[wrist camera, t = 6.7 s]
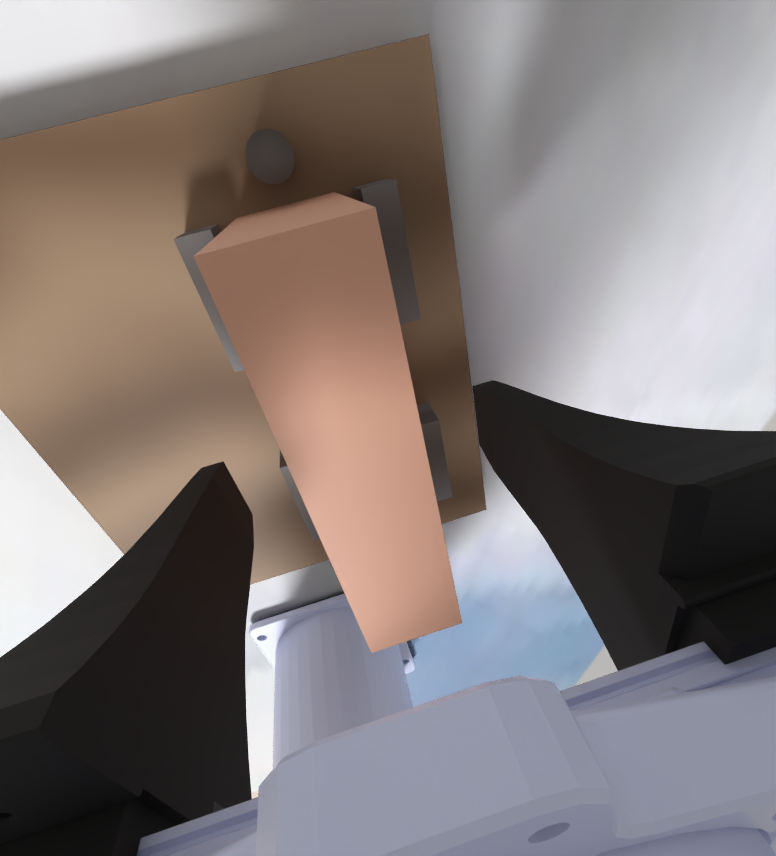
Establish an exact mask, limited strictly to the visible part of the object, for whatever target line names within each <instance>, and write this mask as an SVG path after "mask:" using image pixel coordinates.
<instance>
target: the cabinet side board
mask: <svg viewBox="0 0 776 856" xmlns="http://www.w3.org/2000/svg"><path fill="white" fill-rule="evenodd" d="M332 192H336V193H338V194H341V195H344V196H346V197H349V198H352V199H355V200H357V201H360V202H363V203H366V204H368V205H371V206H374V207H376V212H377V217H378V221H379V226H380V231H381V236H382V241H383V245H384V250H385V255H386V260H387V265H388V269H389V274H390V279H391V284H392V289H393V293H394V298H395V303H396V308H397V313H398V317H399V322H400V327H401V332H402V337H403V341H404V346H405V351H406V356H407V361H408V365H409V370H410V375H411V380H412V385H413V389H414V394H415V399H416V404H417V409H418V413H419V418H420V423H421V428H422V433H423V437H424V442H425V447H426V452H427V457H428V461H429V466H430V471H431V476H432V481H433V485H434V490H435V495H436V500H437V505H438V509H439V514H440V519H441V524H442V523H445V522H449V521H452V520H455V519H458V518H461V517H464V516H467V515H471V514H474V513H477V512H480V511H483V510H486V503H485V494H484V486H483V478H482V470H481V461H480V453H479V445H478V437H477V428H476V420H475V412H474V404H473V395H472V387H471V379H470V370H469V362H468V354H467V346H466V337H465V329H464V321H463V313H462V304H461V296H460V288H459V279H458V271H457V263H456V255H455V246H454V238H453V230H452V222H451V213H450V205H449V197H448V189H447V180H446V172H445V164H444V155H443V147H442V139H441V131H440V122H439V114H438V106H437V98H436V89H435V81H434V73H433V65H432V56H431V48H430V40H429V34H428V35H424V36H420V37H416V38H412V39H408V40H404V41H400V42H395V43H391V44H387V45H383V46H379V47H375V48H371V49H367V50H363V51H359V52H355V53H351V54H347V55H343V56H339V57H335V58H331V59H327V60H322V61H318V62H314V63H310V64H306V65H302V66H298V67H294V68H290V69H286V70H282V71H278V72H274V73H270V74H266V75H262V76H258V77H254V78H250V79H245V80H241V81H237V82H233V83H229V84H225V85H221V86H217V87H213V88H209V89H205V90H201V91H197V92H193V93H189V94H185V95H181V96H177V97H173V98H168V99H164V100H160V101H156V102H152V103H148V104H144V105H140V106H136V107H132V108H128V109H124V110H120V111H116V112H112V113H108V114H104V115H100V116H96V117H91V118H87V119H83V120H79V121H75V122H71V123H67V124H63V125H59V126H55V127H51V128H47V129H43V130H39V131H35V132H31V133H27V134H23V135H18V136H14V137H10V138H6V139H2V140H0V409H1V410H2V412H3V413H4V414H5V415H6V416H7V417H8V419H9V420H10V421H11V422H12V423H13V424H14V426H15V427H16V428H17V429H18V430H19V431H20V433H21V434H22V435H23V436H24V437H25V439H26V440H27V441H28V442H29V443H30V444H31V446H32V447H33V448H34V449H35V450H36V451H37V453H38V454H39V455H40V456H41V457H42V458H43V460H44V461H45V462H46V463H47V464H48V466H49V467H50V468H51V469H52V470H53V471H54V473H55V474H56V475H57V476H58V477H59V478H60V480H61V481H62V482H63V483H64V484H65V485H66V487H67V488H68V489H69V490H70V491H71V493H72V494H73V495H74V496H75V497H76V498H77V500H78V501H79V502H80V503H81V504H82V505H83V507H84V508H85V509H86V510H87V511H88V512H89V514H90V515H91V516H92V517H93V518H94V520H95V521H96V522H97V523H98V524H99V525H100V527H101V528H102V529H103V530H104V531H105V532H106V534H107V535H108V536H109V537H110V538H111V539H112V541H113V542H114V543H115V544H116V545H117V547H118V548H119V549H120V550H121V551H122V552H123V554H125V553H126V552H127V551H128V550H129V549H130V548H131V547H132V546H133V545H134V544H135V543H136V542H137V541H138V540H139V538H140V537H141V536H142V535H143V534H144V533H145V532H146V531H147V530H148V529H149V527H150V526H151V525H152V524H153V523H154V522H155V521H156V520H157V519H158V517H159V516H160V515H161V514H162V513H163V512H164V510H165V509H166V508H167V507H168V506H169V504H170V503H171V502H172V501H173V500H174V499H175V497H176V496H177V495H178V494H179V493H180V491H181V490H182V489H183V488H184V487H185V485H186V484H187V483H188V482H189V481H190V479H191V478H192V477H193V476H194V475H195V474H196V473H197V472H198V471H199V470H200V469H201V468H202V467H206V466H209V465H212V464H216V463H219V462H222V461H224V463H225V465H226V467H227V469H228V470H229V472H230V474H231V476H232V478H233V479H234V481H235V483H236V485H237V487H238V489H239V490H240V492H241V494H242V496H243V498H244V499H245V501H246V503H247V505H248V507H249V509H250V510H251V512H252V514H253V529H254V552H253V562H252V572H251V581H250V584H254V583H257V582H260V581H263V580H266V579H269V578H272V577H276V576H279V575H282V574H285V573H288V572H291V571H294V570H298V569H301V568H304V567H307V566H310V565H313V564H316V563H320V562H323V561H326V560H329V557H328V555H327V553H326V551H325V548H324V546H323V544H322V542H321V539H320V537H319V535H318V533H317V531H316V528H315V526H314V524H313V522H312V519H311V517H310V515H309V513H308V510H307V508H306V506H305V504H304V502H303V499H302V497H301V495H300V493H299V490H298V488H297V486H296V484H295V481H294V479H293V477H292V475H291V473H290V470H289V468H288V466H287V464H286V461H285V459H284V457H283V455H282V452H281V450H280V448H279V446H278V444H277V441H276V439H275V437H274V435H273V432H272V430H271V428H270V426H269V423H268V421H267V419H266V417H265V415H264V412H263V410H262V408H261V406H260V403H259V401H258V399H257V397H256V394H255V392H254V390H253V388H252V386H251V383H250V381H249V379H248V377H247V374H246V372H245V370H244V368H243V365H242V363H241V361H240V359H239V357H238V354H237V352H236V350H235V348H234V345H233V343H232V341H231V339H230V336H229V334H228V332H227V330H226V328H225V325H224V323H223V321H222V319H221V316H220V314H219V312H218V310H217V307H216V305H215V303H214V301H213V299H212V296H211V294H210V292H209V290H208V287H207V285H206V283H205V281H204V278H203V276H202V274H201V272H200V270H199V267H198V265H197V263H196V261H195V258H194V255H195V254H197V253H198V252H199V251H200V250H201V249H202V248H203V247H205V246H206V245H207V244H208V243H209V242H210V241H211V240H212V239H214V238H215V237H216V236H217V235H218V234H219V233H220V232H222V231H223V230H224V229H225V228H226V227H227V226H228V225H229V224H231V223H232V222H233V221H234V220H235V219H236V218H238V217H242V216H246V215H250V214H253V213H257V212H261V211H265V210H268V209H272V208H276V207H280V206H283V205H287V204H291V203H295V202H298V201H302V200H306V199H310V198H313V197H317V196H321V195H325V194H329V193H332Z"/></svg>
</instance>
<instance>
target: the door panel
mask: <svg viewBox="0 0 776 856" xmlns="http://www.w3.org/2000/svg"><path fill="white" fill-rule="evenodd" d="M194 258H195V261H196V263H197V265H198V267H199V270H200V272H201V274H202V276H203V278H204V281H205V283H206V285H207V287H208V290H209V292H210V294H211V296H212V299H213V301H214V303H215V305H216V307H217V310H218V312H219V314H220V316H221V319H222V321H223V323H224V325H225V328H226V330H227V332H228V334H229V336H230V339H231V341H232V343H233V345H234V348H235V350H236V352H237V354H238V357H239V359H240V361H241V363H242V365H243V368H244V370H245V372H246V374H247V377H248V379H249V381H250V383H251V386H252V388H253V390H254V392H255V394H256V397H257V399H258V401H259V403H260V406H261V408H262V410H263V412H264V415H265V417H266V419H267V421H268V423H269V426H270V428H271V430H272V432H273V435H274V437H275V439H276V441H277V444H278V446H279V448H280V450H281V452H282V455H283V457H284V459H285V461H286V464H287V466H288V468H289V470H290V473H291V475H292V477H293V479H294V481H295V484H296V486H297V488H298V490H299V493H300V495H301V497H302V499H303V502H304V504H305V506H306V508H307V510H308V513H309V515H310V517H311V519H312V522H313V524H314V526H315V528H316V531H317V533H318V535H319V537H320V539H321V542H322V544H323V546H324V548H325V551H326V553H327V555H328V557H329V560H330V562H331V564H332V566H333V568H334V571H335V573H336V575H337V577H338V580H339V582H340V584H341V586H342V589H343V591H344V593H345V595H346V597H347V600H348V602H349V604H350V606H351V609H352V611H353V613H354V615H355V618H356V620H357V622H358V624H359V626H360V629H361V631H362V633H363V635H364V638H365V640H366V642H367V644H368V647H369V649H370V651H371V653H373V652H376V651H379V650H382V649H385V648H388V647H391V646H394V645H397V644H400V643H403V642H406V641H409V640H412V639H415V638H418V637H421V636H424V635H427V634H430V633H433V632H436V631H439V630H442V629H445V628H448V627H451V626H454V625H457V624H460V623H462V620H461V615H460V610H459V605H458V601H457V596H456V591H455V586H454V581H453V577H452V572H451V567H450V562H449V557H448V553H447V548H446V543H445V538H444V533H443V529H442V524H441V519H440V514H439V509H438V505H437V500H436V495H435V490H434V485H433V481H432V476H431V471H430V466H429V461H428V457H427V452H426V447H425V442H424V437H423V433H422V428H421V423H420V418H419V413H418V409H417V404H416V399H415V394H414V389H413V385H412V380H411V375H410V370H409V365H408V361H407V356H406V351H405V346H404V341H403V337H402V332H401V327H400V322H399V317H398V313H397V308H396V303H395V298H394V293H393V289H392V284H391V279H390V274H389V269H388V265H387V260H386V255H385V250H384V245H383V241H382V236H381V231H380V226H379V221H378V217H377V212H376V207H374V206H371V205H368V204H366V203H363V202H360V201H357V200H355V199H352V198H349V197H346V196H344V195H341V194H338V193H336V192H332V193H329V194H325V195H321V196H317V197H313V198H310V199H306V200H302V201H298V202H295V203H291V204H287V205H283V206H280V207H276V208H272V209H268V210H265V211H261V212H257V213H253V214H250V215H246V216H242V217H238V218H236V219H235V220H234V221H233V222H232V223H231V224H229V225H228V226H227V227H226V228H225V229H224V230H223V231H222V232H220V233H219V234H218V235H217V236H216V237H215V238H214V239H212V240H211V241H210V242H209V243H208V244H207V245H206V246H205V247H203V248H202V249H201V250H200V251H199V252H198V253H197V254H195V255H194Z"/></svg>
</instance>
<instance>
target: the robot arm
mask: <svg viewBox="0 0 776 856" xmlns="http://www.w3.org/2000/svg"><path fill="white" fill-rule="evenodd" d="M473 395H474V403H475V411H476V419H477V428H478V436H479V444H480V446H481V448H482V450H483V452H484V454H485V455H486V457H487V459H488V461H489V463H490V464H491V466H492V468H493V470H494V471H495V473H496V474H497V475H498V477H499V478H500V479H501V481H502V482H503V483H504V485H505V486H506V487H507V489H508V490H509V491H510V493H511V494H512V495H513V497H514V498H515V499H516V501H517V502H518V503H519V505H520V506H521V507H522V508H523V510H524V511H525V512H526V514H527V515H528V516H529V518H530V519H531V520H532V522H533V523H534V524H535V526H536V527H537V528H538V530H539V531H540V533H541V534H542V536H543V537H544V538H545V540H546V542H547V543H548V545H549V547H550V548H551V550H552V552H553V553H554V555H555V557H556V558H557V560H558V562H559V563H560V565H561V567H562V568H563V570H564V572H565V574H566V575H567V577H568V579H569V581H570V582H571V584H572V586H573V588H574V589H575V591H576V593H577V595H578V596H579V598H580V600H581V602H582V603H583V605H584V607H585V609H586V611H587V613H588V615H589V616H590V618H591V620H592V622H593V624H594V626H595V627H596V629H597V631H598V633H599V635H600V637H601V639H602V640H603V642H604V644H605V646H606V648H607V650H608V652H609V654H610V656H611V658H612V660H613V662H614V664H615V666H616V668H617V670H618V671H617V672H614V673H611V674H608V675H606V676H603V677H600V678H597V679H594V680H591V681H588V682H586V683H583V684H580V685H577V686H574V687H571V688H568V689H566V690H563V691H559V690H558V688H557V686H556V685H555V684H554V683H552V682H549V681H546V680H542V679H537V678H531V677H525V676H515V677H510V678H505V679H500V680H495V681H490V682H485V683H483V684H480V685H477V686H474V687H471V688H468V689H465V690H462V691H459V692H456V693H454V694H451V695H448V696H445V697H442V698H439V699H436V700H433V701H430V702H427V703H425V704H422V705H419V706H416V707H413V705H412V700H411V696H410V692H409V688H408V684H407V679H406V675H405V674H407V673H410V672H412V671H413V670H414V669H415V664H414V661H413V658H412V655H411V652H410V650H409V647H408V644H407V641H406V642H403V643H400V644H397V645H394V646H391V647H388V648H385V649H382V650H379V651H376V652H373V653H371V651H370V649H369V647H368V644H367V642H366V640H365V638H364V635H363V633H362V631H361V629H360V626H359V624H358V622H357V620H356V618H355V615H354V613H353V611H352V609H351V606H350V604H349V602H348V600H347V597H346V595H345V593H344V594H341V595H338V596H335V597H332V598H329V599H326V600H323V601H320V602H316V603H313V604H310V605H307V606H304V607H301V608H298V609H295V610H292V611H289V612H286V613H282V614H279V615H276V616H273V617H270V618H267V619H264V620H261V621H258V622H255V623H253V624H252V625H251V626H250V628H249V634H250V636H251V638H252V639H253V640H254V642H255V643H256V645H257V646H258V647H259V649H260V650H261V652H262V653H263V654H264V656H265V657H266V658H267V660H268V661H269V663H270V664H271V665H272V667H273V668H274V670H275V692H274V736H273V770H272V771H271V773H270V774H269V775H268V776H267V777H266V779H265V780H264V781H263V782H262V783H261V785H260V786H259V794H258V795H259V796H258V797H257V798H254V799H252V798H251V785H250V773H249V760H248V741H247V722H246V691H245V630H246V617H247V608H248V599H249V590H250V581H251V572H252V562H253V552H254V529H253V514H252V512H251V510H250V509H249V507H248V505H247V503H246V501H245V499H244V498H243V496H242V494H241V492H240V490H239V489H238V487H237V485H236V483H235V481H234V479H233V478H232V476H231V474H230V472H229V470H228V469H227V467H226V465H225V463H224V461H222V462H219V463H216V464H212V465H209V466H206V467H202V468H201V469H200V470H199V471H198V472H197V473H196V474H195V475H194V476H193V477H192V478H191V479H190V481H189V482H188V483H187V484H186V485H185V487H184V488H183V489H182V490H181V491H180V493H179V494H178V495H177V496H176V497H175V499H174V500H173V501H172V502H171V503H170V504H169V506H168V507H167V508H166V509H165V510H164V512H163V513H162V514H161V515H160V516H159V517H158V519H157V520H156V521H155V522H154V523H153V524H152V525H151V526H150V527H149V529H148V530H147V531H146V532H145V533H144V534H143V535H142V536H141V537H140V538H139V540H138V541H137V542H136V543H135V544H134V545H133V546H132V547H131V548H130V549H129V550H128V551H127V552H126V553H125V554H124V555H123V557H122V558H120V559H119V560H118V561H117V562H116V563H115V564H114V565H113V566H112V567H111V568H110V569H109V570H108V571H107V572H106V573H105V574H104V575H103V576H102V577H101V578H99V579H98V580H97V581H96V582H95V583H94V584H93V585H92V586H91V587H90V588H88V589H87V590H86V591H85V592H84V593H83V594H81V595H80V596H79V597H78V598H77V599H75V600H74V601H73V602H72V603H70V604H69V605H68V606H67V607H66V608H64V609H63V610H62V611H61V612H60V613H58V614H57V615H56V616H55V617H54V618H52V619H51V620H50V621H49V622H47V623H46V624H45V625H44V626H42V627H41V628H40V629H38V630H37V631H36V632H34V633H33V634H32V635H30V636H29V637H28V638H26V639H25V640H24V641H22V642H21V643H20V644H18V645H17V646H16V647H14V648H13V649H11V650H10V651H9V652H7V653H6V654H4V655H3V656H2V657H0V856H776V431H724V430H707V429H692V428H682V427H671V426H664V425H656V424H649V423H641V422H635V421H629V420H624V419H619V418H614V417H610V416H605V415H600V414H596V413H592V412H588V411H584V410H581V409H577V408H574V407H570V406H567V405H564V404H560V403H557V402H554V401H551V400H548V399H545V398H542V397H540V396H537V395H534V394H531V393H528V392H526V391H523V390H520V389H518V388H515V387H512V386H509V385H507V384H504V383H501V382H497V381H494V380H492V381H489V382H486V383H482V384H479V385H476V386H473Z"/></svg>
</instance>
